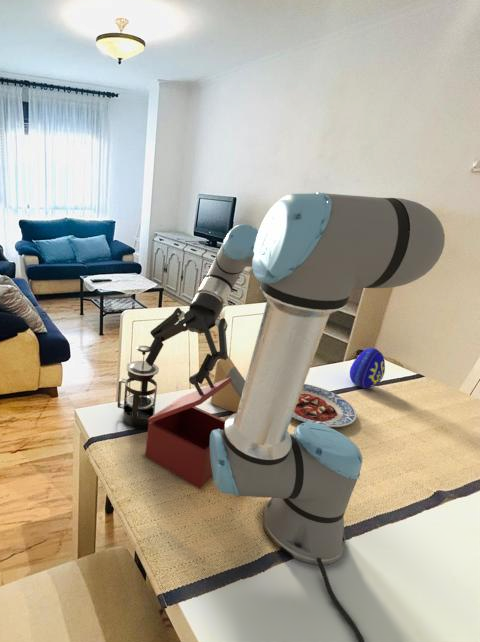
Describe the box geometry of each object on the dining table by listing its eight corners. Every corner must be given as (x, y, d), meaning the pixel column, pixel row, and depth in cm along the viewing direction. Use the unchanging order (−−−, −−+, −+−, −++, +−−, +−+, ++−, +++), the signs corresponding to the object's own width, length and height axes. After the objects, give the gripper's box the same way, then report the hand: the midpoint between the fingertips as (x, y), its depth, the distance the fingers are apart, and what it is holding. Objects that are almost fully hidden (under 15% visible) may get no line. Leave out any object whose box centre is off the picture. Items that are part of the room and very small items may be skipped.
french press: (159, 415, 115) (167, 344, 106) (151, 432, 107) (159, 358, 98) (122, 406, 118) (127, 337, 110) (112, 422, 110) (116, 349, 101)
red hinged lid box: (230, 457, 99) (236, 425, 95) (200, 489, 88) (206, 453, 84) (177, 430, 108) (181, 400, 104) (145, 456, 97) (148, 422, 94)
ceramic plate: (374, 427, 115) (377, 419, 114) (301, 436, 109) (303, 428, 108) (315, 385, 138) (317, 378, 137) (251, 390, 132) (253, 383, 131)
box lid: (232, 380, 92) (221, 359, 93) (201, 404, 82) (188, 379, 82) (182, 400, 104) (172, 381, 105) (149, 422, 93) (138, 401, 94)
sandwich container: (258, 420, 115) (268, 376, 109) (210, 403, 122) (217, 361, 117) (265, 408, 122) (275, 365, 116) (218, 392, 129) (225, 352, 124)
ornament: (362, 394, 134) (376, 355, 128) (339, 382, 141) (351, 345, 136) (383, 389, 138) (397, 351, 132) (360, 378, 146) (372, 341, 140)
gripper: (261, 318, 91) (225, 396, 86) (172, 299, 107) (136, 363, 101) (256, 300, 86) (217, 382, 80) (163, 283, 101) (124, 350, 95)
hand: (171, 372), depth 90 cm, fingers open, 13 cm apart
